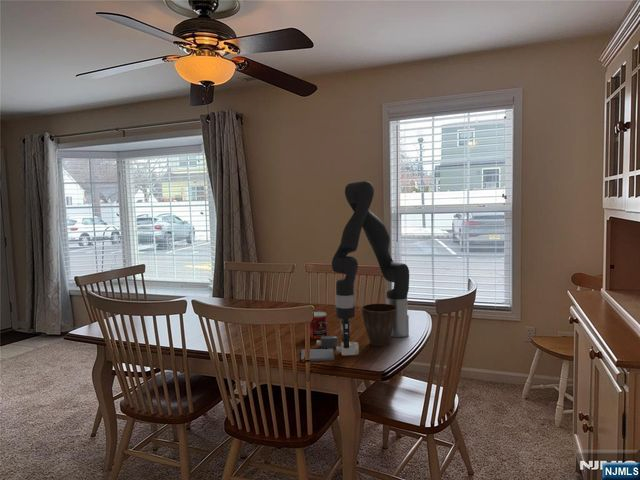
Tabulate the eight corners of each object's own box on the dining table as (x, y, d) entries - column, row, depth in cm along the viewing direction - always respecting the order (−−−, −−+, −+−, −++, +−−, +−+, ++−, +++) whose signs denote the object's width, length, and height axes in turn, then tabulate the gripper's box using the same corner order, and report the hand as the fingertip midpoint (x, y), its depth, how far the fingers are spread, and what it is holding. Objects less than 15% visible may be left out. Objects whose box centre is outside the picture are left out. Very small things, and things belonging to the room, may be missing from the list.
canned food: (313, 340, 201) (312, 316, 200) (308, 335, 208) (308, 312, 207) (329, 338, 203) (328, 315, 202) (324, 333, 210) (324, 310, 209)
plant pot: (374, 336, 204) (373, 301, 203) (403, 342, 195) (403, 306, 193) (355, 345, 193) (354, 308, 191) (385, 351, 183) (385, 313, 182)
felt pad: (333, 350, 187) (332, 348, 187) (334, 360, 176) (334, 357, 176) (301, 351, 186) (301, 349, 186) (301, 361, 175) (301, 358, 175)
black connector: (337, 345, 193) (337, 335, 193) (338, 348, 190) (337, 338, 189) (316, 346, 193) (316, 336, 193) (316, 348, 190) (316, 339, 189)
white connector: (358, 351, 185) (358, 341, 184) (359, 354, 181) (359, 344, 181) (336, 352, 184) (336, 342, 184) (336, 355, 181) (336, 345, 180)
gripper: (356, 309, 174) (356, 350, 175) (352, 301, 188) (353, 339, 189) (336, 309, 174) (337, 350, 175) (335, 301, 188) (335, 339, 189)
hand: (345, 344), depth 182 cm, fingers open, 8 cm apart
